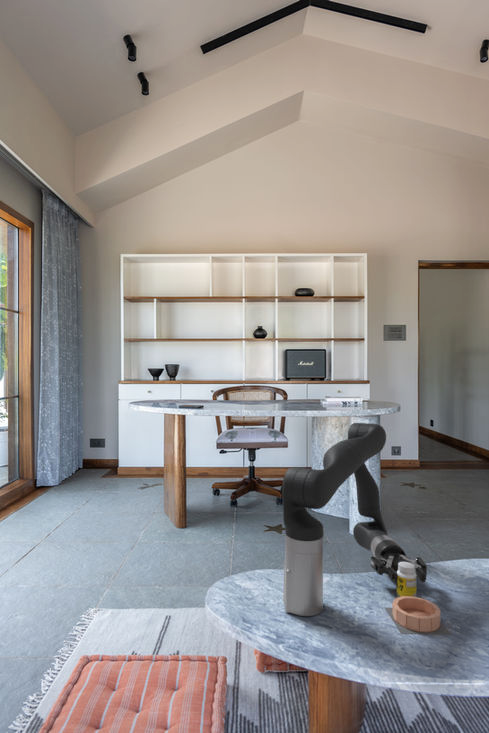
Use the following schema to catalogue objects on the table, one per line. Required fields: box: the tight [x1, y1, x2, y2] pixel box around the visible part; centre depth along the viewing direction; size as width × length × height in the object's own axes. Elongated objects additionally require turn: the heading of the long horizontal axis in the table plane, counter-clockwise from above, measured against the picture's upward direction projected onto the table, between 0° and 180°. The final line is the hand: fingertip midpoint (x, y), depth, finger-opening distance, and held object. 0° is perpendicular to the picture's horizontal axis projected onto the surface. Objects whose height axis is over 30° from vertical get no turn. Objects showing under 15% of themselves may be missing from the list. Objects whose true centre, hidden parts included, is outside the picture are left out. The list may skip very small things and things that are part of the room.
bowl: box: [391, 596, 442, 633], centre depth 100 cm, size 10×10×3 cm
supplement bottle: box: [396, 562, 417, 598], centre depth 111 cm, size 5×5×8 cm
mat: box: [384, 607, 452, 635], centre depth 99 cm, size 11×11×1 cm
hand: (410, 578), depth 108 cm, fingers open, 6 cm apart
